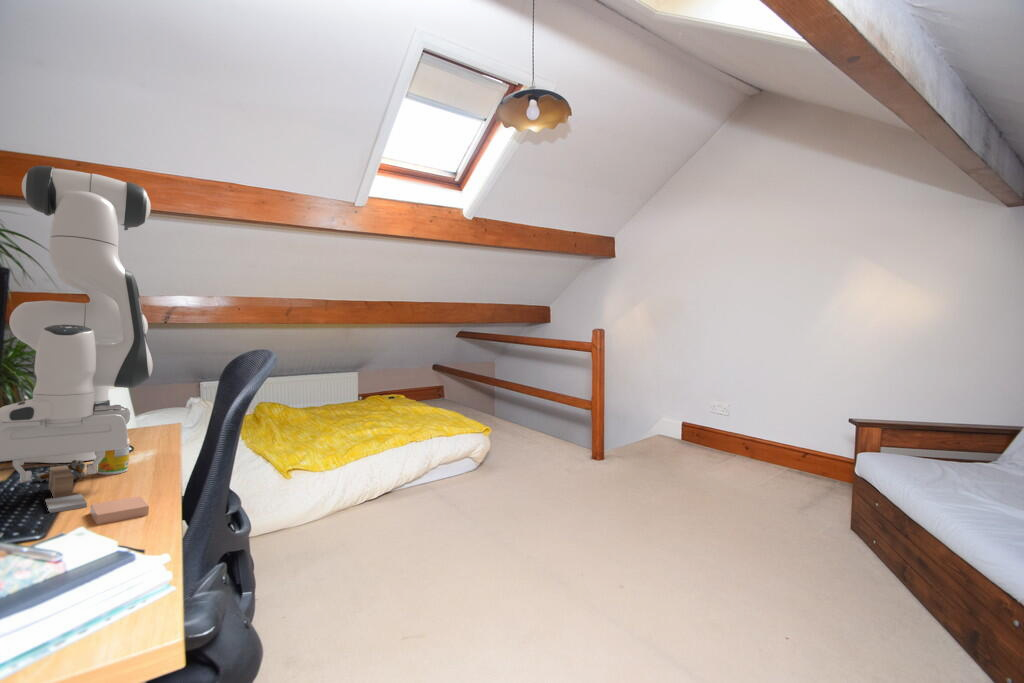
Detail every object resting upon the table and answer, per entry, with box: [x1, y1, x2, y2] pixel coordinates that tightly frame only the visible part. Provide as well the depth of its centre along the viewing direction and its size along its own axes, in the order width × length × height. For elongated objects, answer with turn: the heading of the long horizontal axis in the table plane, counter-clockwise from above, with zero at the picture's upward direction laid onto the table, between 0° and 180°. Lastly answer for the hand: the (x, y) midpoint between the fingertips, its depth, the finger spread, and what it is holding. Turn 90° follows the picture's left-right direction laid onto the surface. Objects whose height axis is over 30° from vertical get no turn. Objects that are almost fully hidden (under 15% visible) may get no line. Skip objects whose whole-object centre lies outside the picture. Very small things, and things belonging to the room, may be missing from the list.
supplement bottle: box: [97, 438, 131, 476], centre depth 109 cm, size 5×5×10 cm
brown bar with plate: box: [44, 464, 88, 514], centre depth 91 cm, size 17×5×4 cm, turn 49°
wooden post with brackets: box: [36, 460, 87, 481], centre depth 101 cm, size 2×8×4 cm, turn 105°
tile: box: [89, 495, 150, 525], centre depth 84 cm, size 2×7×7 cm
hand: (59, 477), depth 93 cm, fingers open, 8 cm apart
